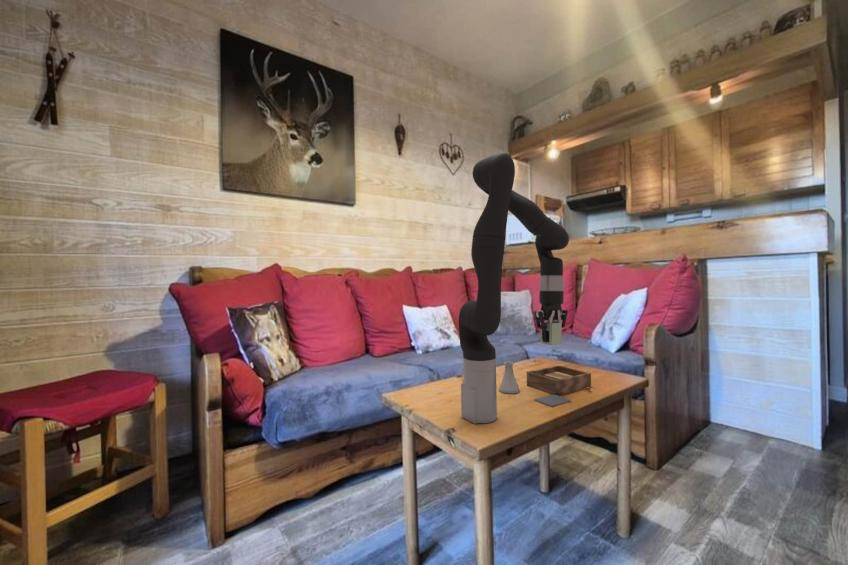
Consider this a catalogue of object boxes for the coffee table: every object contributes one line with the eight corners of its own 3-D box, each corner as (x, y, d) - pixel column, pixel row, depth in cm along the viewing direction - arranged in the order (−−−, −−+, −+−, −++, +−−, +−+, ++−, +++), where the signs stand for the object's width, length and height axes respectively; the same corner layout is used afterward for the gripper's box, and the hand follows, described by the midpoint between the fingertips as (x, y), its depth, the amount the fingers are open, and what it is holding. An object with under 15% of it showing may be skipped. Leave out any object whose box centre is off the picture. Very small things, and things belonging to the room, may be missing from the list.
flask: (518, 387, 128) (517, 360, 128) (521, 394, 121) (521, 365, 121) (497, 387, 129) (497, 360, 129) (499, 394, 122) (499, 365, 122)
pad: (551, 407, 109) (551, 405, 109) (534, 400, 115) (534, 399, 115) (571, 401, 114) (571, 400, 114) (553, 395, 120) (553, 394, 120)
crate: (558, 396, 119) (558, 381, 118) (526, 385, 131) (526, 371, 131) (591, 387, 127) (590, 373, 127) (558, 378, 139) (558, 365, 139)
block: (552, 345, 115) (552, 323, 115) (541, 343, 119) (541, 322, 119) (561, 344, 117) (561, 322, 117) (550, 342, 121) (550, 321, 121)
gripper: (545, 290, 111) (545, 345, 111) (575, 289, 118) (575, 341, 118) (527, 289, 117) (527, 341, 117) (556, 289, 125) (556, 338, 125)
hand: (551, 341), depth 118 cm, fingers closed on block, 4 cm apart
